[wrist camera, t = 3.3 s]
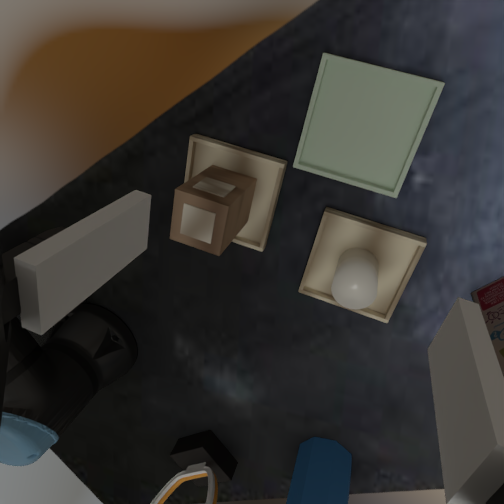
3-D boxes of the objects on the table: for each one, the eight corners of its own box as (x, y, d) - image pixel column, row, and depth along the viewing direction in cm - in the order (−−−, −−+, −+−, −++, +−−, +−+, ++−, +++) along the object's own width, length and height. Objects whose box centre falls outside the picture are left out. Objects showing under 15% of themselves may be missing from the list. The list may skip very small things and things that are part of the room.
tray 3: (300, 285, 54) (298, 291, 53) (326, 206, 48) (324, 211, 47) (387, 316, 52) (387, 323, 51) (425, 237, 46) (426, 243, 45)
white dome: (332, 275, 52) (325, 300, 46) (344, 242, 49) (339, 265, 44) (370, 288, 51) (367, 315, 46) (384, 255, 48) (383, 280, 43)
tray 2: (295, 163, 47) (292, 166, 46) (325, 52, 41) (323, 52, 40) (396, 193, 45) (396, 198, 44) (443, 82, 39) (445, 83, 38)
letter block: (205, 207, 53) (169, 239, 44) (212, 163, 50) (174, 188, 41) (247, 221, 52) (218, 256, 43) (257, 177, 49) (228, 205, 40)
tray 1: (184, 219, 55) (179, 223, 54) (195, 133, 49) (190, 136, 48) (265, 246, 53) (262, 252, 52) (287, 161, 47) (284, 164, 46)
